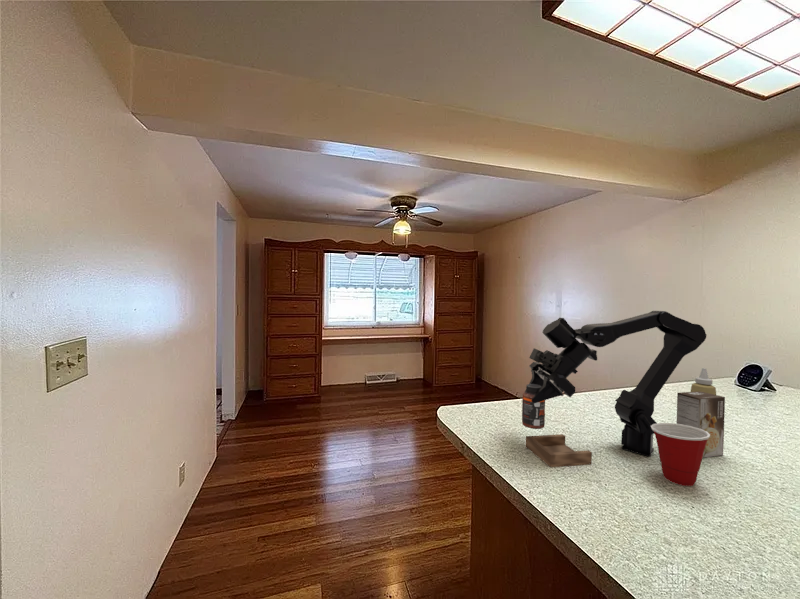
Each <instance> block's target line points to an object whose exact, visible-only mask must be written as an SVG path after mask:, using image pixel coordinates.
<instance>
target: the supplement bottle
mask: <svg viewBox="0 0 800 599" xmlns="http://www.w3.org/2000/svg"><path fill="white" fill-rule="evenodd" d="M525 388H526V389H525V390H527V391H526V392H525V391H524V392H523V393H522V402H521V403H522V405H521V408H522V409H521V411H522V413H521V423H522V425H523V427H526V428H527V429H528V428H529V429H534V430H541V429H543V428H545V422H546V419H545V418H546V400H544V401H541V402H537V403H533V402H532V401H531V400H532V398H533V397H534V396H535V394H536V393H537V392H538V391H539V390H540V388H541V386H540V385H536V384H529V383H528V384H526V386H525Z"/></svg>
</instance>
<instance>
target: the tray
mask: <svg viewBox="0 0 800 599" xmlns="http://www.w3.org/2000/svg"><path fill="white" fill-rule="evenodd" d="M525 448H526V449H527V450H529V452H531V453H532V454H534V455H535V456H536V457H537V458H538V459H540V460H541V461H542V462H543V463H545V464H546V465H547V466H549V467H550V468H556V467H557V468H560V467H574V466H586V465H587V466H588V465H592V461H593V458H592V456H593V452H592V451H590V450H577V451H576V450H574V449H573V448H571V447H569V446H568V445H566V435H564V434H563V433H560V434H545V435H544V434H543V435H526V436H525Z"/></svg>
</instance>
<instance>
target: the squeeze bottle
mask: <svg viewBox="0 0 800 599" xmlns="http://www.w3.org/2000/svg"><path fill="white" fill-rule="evenodd" d="M708 374H709V373H708V371H707V368H705V367H704V368H701V370H700V374H699V376H697V377H695V379H694V382H693V383H692V384H691V387H690V392H698V391H701V392H705V393H710V394H714V395H717V390H716V386H715V385H713V380H712V379H711V378H709V375H708Z"/></svg>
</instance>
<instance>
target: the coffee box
mask: <svg viewBox="0 0 800 599" xmlns="http://www.w3.org/2000/svg"><path fill="white" fill-rule="evenodd" d="M676 396H677V399H676V400H677V401H676V424H682V425H687V426H692V427H696V428H699V429H702V430H704V431H707V432H708V433H709V434H710V437H709V439H708V440H707V443H706V447H705V449H704V453H703V457H702V459H703V458H711V457H718V456H724V438H725V437H724V436H725V410H726V409H725V406H726V405H725V404H726V400H725V399H726V397H725V396H721V395H717V394H716V395H714V394H710V393H705V392H701V391H698V392H691V391H686V392H685V391H684V392H677V395H676Z"/></svg>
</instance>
